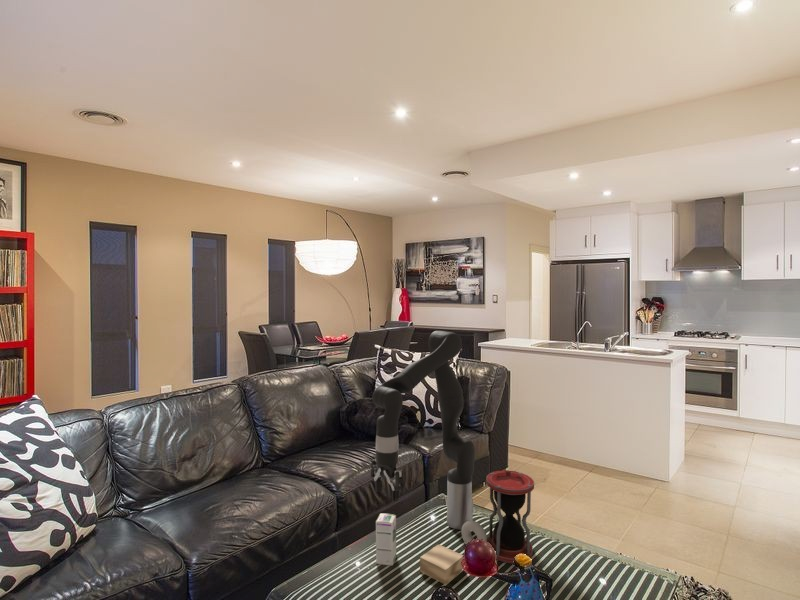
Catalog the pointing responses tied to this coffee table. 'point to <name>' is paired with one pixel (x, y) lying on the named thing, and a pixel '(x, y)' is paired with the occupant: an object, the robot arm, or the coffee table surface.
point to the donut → (475, 528)
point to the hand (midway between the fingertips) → (386, 496)
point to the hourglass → (509, 514)
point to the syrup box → (386, 539)
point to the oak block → (441, 564)
